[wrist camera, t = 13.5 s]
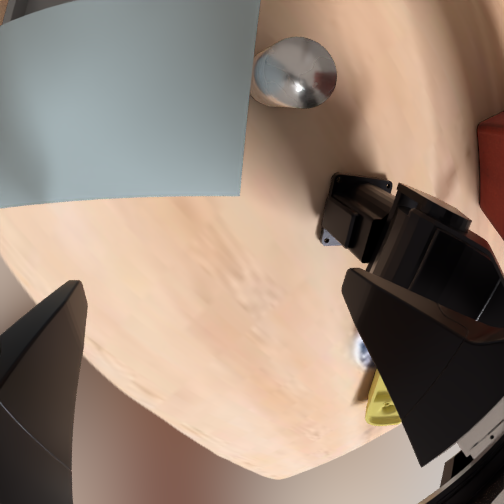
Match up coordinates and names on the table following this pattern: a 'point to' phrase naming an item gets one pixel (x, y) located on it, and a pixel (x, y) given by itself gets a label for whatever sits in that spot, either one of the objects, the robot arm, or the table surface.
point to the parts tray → (28, 7)
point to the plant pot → (492, 170)
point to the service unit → (125, 100)
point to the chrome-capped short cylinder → (293, 74)
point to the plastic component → (380, 405)
